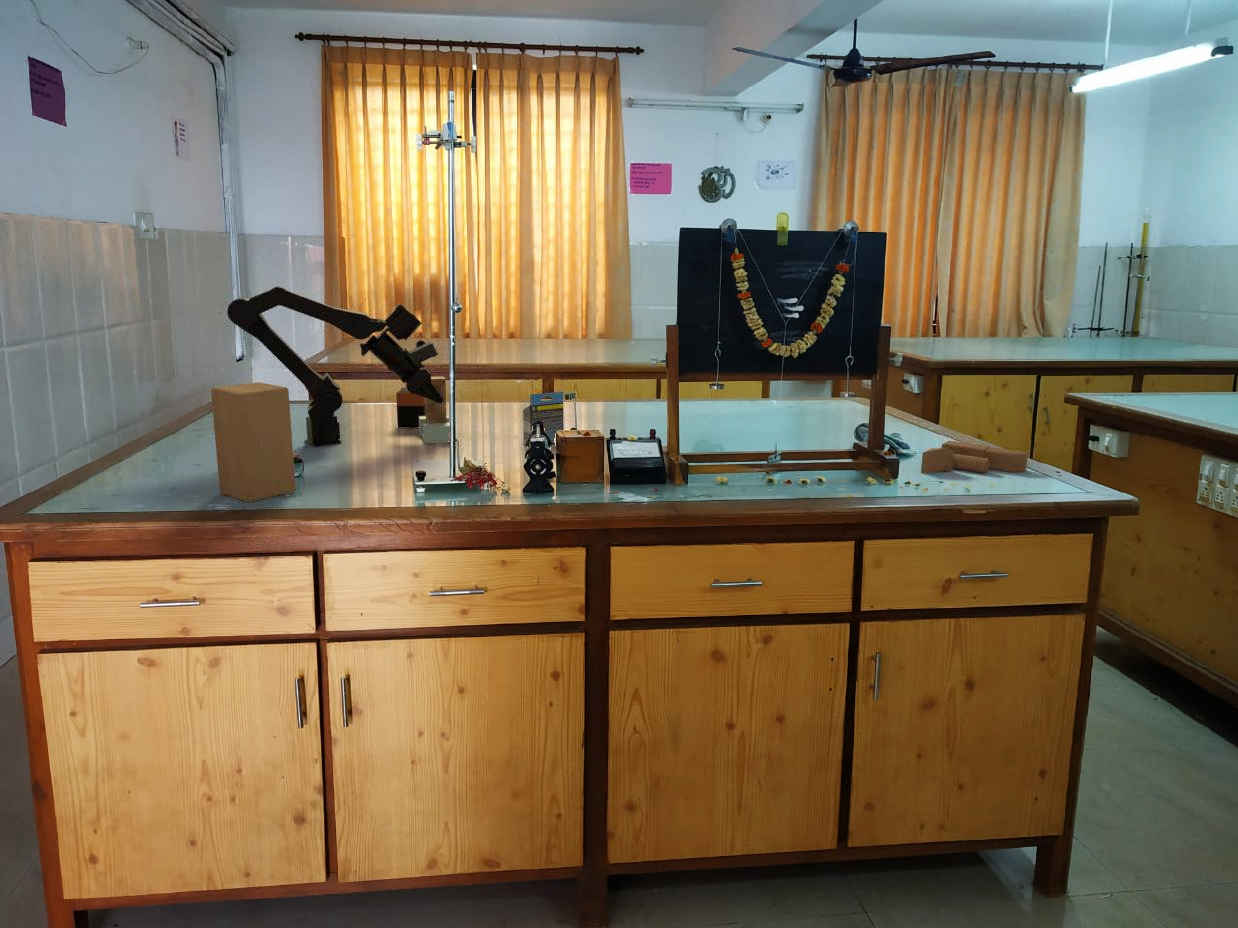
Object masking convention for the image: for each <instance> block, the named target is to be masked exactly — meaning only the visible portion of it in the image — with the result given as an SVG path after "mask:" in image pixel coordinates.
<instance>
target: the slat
mask: <svg viewBox="0 0 1238 928" xmlns="http://www.w3.org/2000/svg"><path fill="white" fill-rule="evenodd" d="M446 381H447V380H446V377H445V376H431V383H432V385H433V386H434V387H435V389H436V390H437V391H438V393H439V394H440V395H441V397H442V398H443V400H444V401H443V402H442V403H439V402H436V401H433V400H431V399H428V398H425V410H426V424H432V423H447V415H448V414H447V384H446Z"/></svg>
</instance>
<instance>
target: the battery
mask: <svg viewBox="0 0 1238 928" xmlns="http://www.w3.org/2000/svg"><path fill="white" fill-rule="evenodd" d="M395 396H396V398H395V399H396V419H397V427H398V428H399V427H419V416H426V410H425V397H423V396H420V395H417V394H412V393H411V392H409V391H408V390H407V389H406V387H400V389H399V390H398V391H397V392H396V393H395Z"/></svg>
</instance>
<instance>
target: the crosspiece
mask: <svg viewBox="0 0 1238 928" xmlns="http://www.w3.org/2000/svg"><path fill="white" fill-rule="evenodd" d="M446 415H447V423H432V424H426V416H419V428H418V431H419V435H420V437H421V438H422V441H423V443H424V444H425V443H426V444H425V445H428V444H427V443H435V444H449V443H448V440H449V432H450V423H451V422H450V423H449V421H451V419H450V416H449V415H448V414H446Z"/></svg>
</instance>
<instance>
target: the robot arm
mask: <svg viewBox="0 0 1238 928" xmlns="http://www.w3.org/2000/svg"><path fill="white" fill-rule="evenodd" d="M278 306H279V307H280V306H281V307H284V308H287V309H289V310H293V311H294V312H298V313H301V314H303V315H306V316H308V317H311V318H314V319H316V320H319V321H322V322H324V323H327V324H330V325H332V326H334V327H335V328H337V329H339V330H340V331H342V332H343V333H344V334H345V333H346V334H347V335H349V336H351V337H352V338H354V339H356V340H360V341H361V340H362V341H363V340H366V339H368V338H369V339H368V340H366V341H365V343H363V342H360V343H359V346H360V354H361V356H362V357H364V356H366V354H367V353H369V352H370V354H372V355H374V357H375V358H376V359H378V361H380V362H381V363H382V364H383V365H384V366H385V367H386V368H387V369H388V370H389V371H390V372H391V373H393V374H394V375H395V376H396V377H397V378H399V379H400V381H401V382H402V383H403V384H404V385H405V387H404V388H406V389H407V390H408V391H409V392H411V393H412V394H417V395H420V396H423V397H425V398H428V399H431V400H433V401H436V402H439V403H442V402H443V401H444V400H443V398H442V397H441V395H440V394H439V393H438V391H437V390H436V389H435V387H434V386H433V385H432V383H431V377H432V373H431V372H430V371H429V370H428V369H427V368H425V364H424V363H423V362H425V361H427V360H429V359H431V358H436V357H437V356H438V355H439V353H438V352H437V349H436V347H435V346H434V343H433V342H432V341H430V340H429V341H427V342H425V341H424V340H423V339H419V340H418V341H417V340H416V342H415V347H414V348H413V349H411V350H407V348H403V347H402V346H401V344H399V343H398V342H397V341H396V340H398V341H399V342H400V341H401V340H405V341H407V340H408V339H409V338H410V337H411V336H412V335H413V334H414V333H415V332H416V331H417V330H418V328H419V327H420V326H422V325H423V323H422V322H421V321H420V320H419V319H418V318H417V317H416V316H415V315H414V314H413V313H412V312H411V311H409V310H408V309H407V308H405V307H404V306H403V304H401V303H398V304H397V305H396V307H394V309H393V311H392V312H391V313H390V314H388V316H387V317H386V318H384V319H381V318H373V317H370V316H369V315H368V314H366V312H365V313H364V312H361V311H354V310H349V309H345V308H338V307H333V306H331V305H328V304H325V303H323V302H320V301H317V300H316V299H312V298H310V297H307V296H304V295H301V294H300V293H296V292H294V291H291V290H290V289H289V290H288V289H287V288H285V287H283V286H280V285H278V286H276V285H275V286H274V287H272V288H271V289H269V290H267V291H264V292H261V293H259V294H256V295H254V296H252V297H250V298H248V297H243V296H242V297H237V298H235V299H233V300H232V301H231V302H230V303H229V305H228V307H227V313H226V314H227V317H228V319H229V320H230V321H231V323H233V324H234V325H235V326H237V327H238V328H240V329H241V330H243V331H244V332H245V333H247V334H248V335H250V336H252V337H254V338H255V339H257V340H258V341H259V342H260V343H261V344H262V345H263V346H264V347H265V348H266V349H267V350H268V351H269V352H270V353H271V354H272V355H273V356H274V357H275V358H277V360H278V361H279V362H280V363H281V364H283V366H285V368H286V369H288V370H289V372H290V373H291V374H293V376H295V377H296V379H298V381H300V383H301V384H303V386H304V387H305V389H306V391H307V392H308V394H309V395H310V397H311V398H312V401H311V402H310V403H308V405H307V414H308V416H306V417H305V425H306V439H304V443H306V444H308V445H311V446H314V447H321V446H328V445H330V446H331V445H336V444H341V443H342V442H343V441H342V440H340V439H341V429H340V425H341V424H340V422H339V421H338V415H334V414H335V412H336V411H338V410H339V409H340V408H341V407H342V406H343V405H342V404H343V395H342V391H341V386H340V383H337V382H336V381H334V379H332V376H330V375H329V373H328V372H325V374H324V375H321V374H319V373H317V372H316V371H315V370H314V369H313V368H312V367H311V366H310V365H309V364H308V363H307V362H306V361H305V360H304V359H303V358H302V357H301V356H300V355H299V354H298V353H297V352H296V351H295V350H294V348H292V347H291V346H290V345H289V344H288V343H287V342H286V341H285V340H284V339H283V338H282V337H281V336H280V335H279V334H278V333H277V332H276V331H275V330H274V329H273V328H272V327H271V325H269V322H268V321H267V320H266V317H264V315H263V313H265V312H267V311H269V310H272V309H274V308H276V307H278ZM379 332H380V333H379ZM388 332H389V333H390V334H391V335H392V336H393V337H394V338H395V339H396V340H395V339H393V338H392V337H391V336H390V335H389V334H388ZM374 333H379V334H378V335H377V336H376V335H375V334H374ZM370 336H371V337H370Z"/></svg>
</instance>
